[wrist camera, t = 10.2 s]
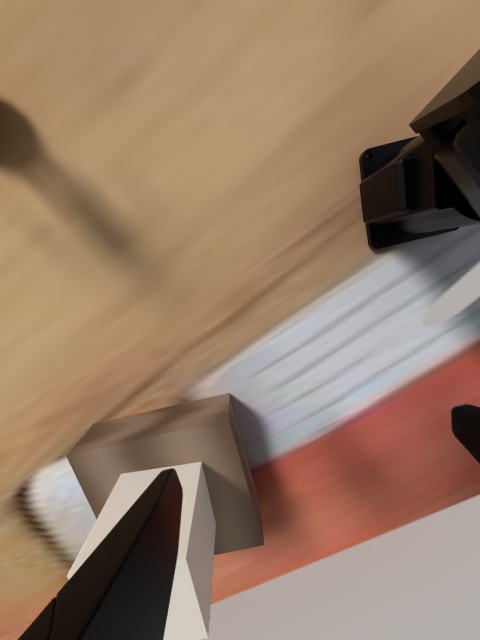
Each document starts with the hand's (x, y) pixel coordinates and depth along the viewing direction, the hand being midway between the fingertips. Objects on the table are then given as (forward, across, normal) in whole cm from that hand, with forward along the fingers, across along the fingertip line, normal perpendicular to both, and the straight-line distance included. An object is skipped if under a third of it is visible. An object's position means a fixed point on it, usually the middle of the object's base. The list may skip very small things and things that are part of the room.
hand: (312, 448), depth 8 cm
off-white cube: (+8, +10, +10) cm, 16 cm away
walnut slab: (+12, +10, +10) cm, 19 cm away
